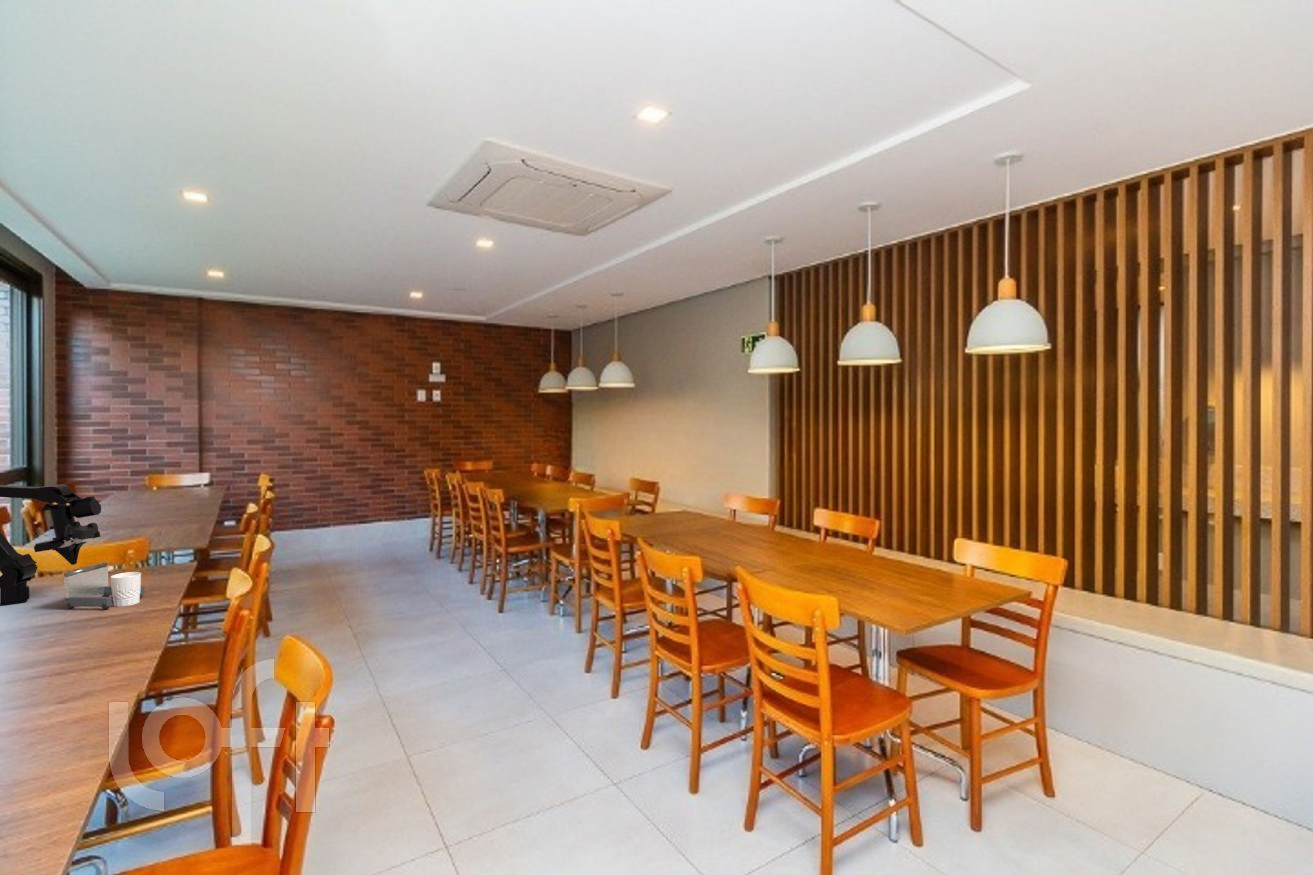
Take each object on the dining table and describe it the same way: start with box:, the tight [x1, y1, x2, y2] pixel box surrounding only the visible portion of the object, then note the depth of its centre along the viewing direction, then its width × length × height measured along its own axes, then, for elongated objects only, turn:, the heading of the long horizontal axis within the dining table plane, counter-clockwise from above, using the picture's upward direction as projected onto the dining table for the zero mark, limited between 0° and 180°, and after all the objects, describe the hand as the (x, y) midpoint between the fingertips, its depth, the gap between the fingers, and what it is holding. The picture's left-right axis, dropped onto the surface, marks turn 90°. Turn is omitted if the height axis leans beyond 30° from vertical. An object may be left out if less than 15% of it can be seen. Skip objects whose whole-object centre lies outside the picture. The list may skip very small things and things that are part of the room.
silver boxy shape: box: [63, 562, 145, 610], centre depth 211 cm, size 15×15×12 cm
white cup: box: [110, 571, 142, 608], centre depth 211 cm, size 8×8×10 cm
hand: (74, 564), depth 217 cm, fingers closed
